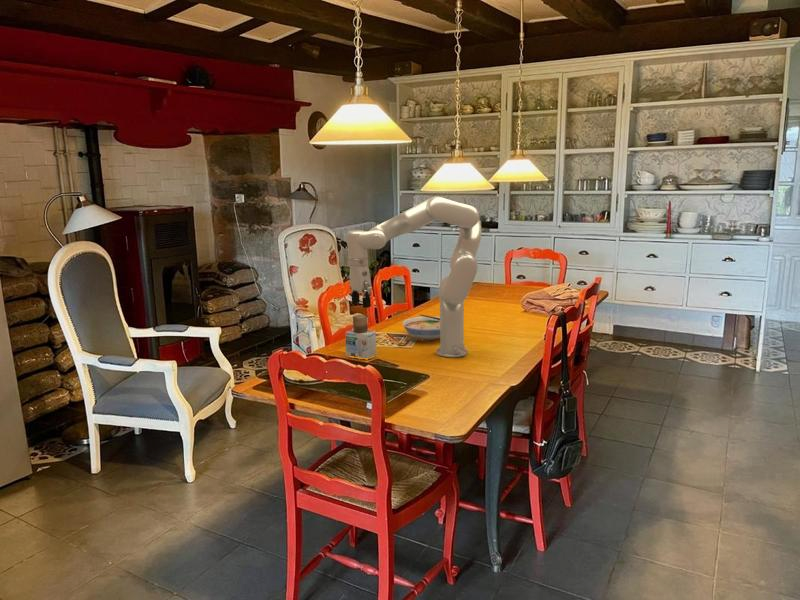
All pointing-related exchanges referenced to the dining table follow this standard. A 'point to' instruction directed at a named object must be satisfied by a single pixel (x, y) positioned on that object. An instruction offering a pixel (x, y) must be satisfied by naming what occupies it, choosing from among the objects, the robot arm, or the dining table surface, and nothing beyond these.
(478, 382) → the dining table surface
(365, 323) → the walnut cylinder
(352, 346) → the light bulb box
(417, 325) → the ramen bowl
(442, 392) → the dining table surface
